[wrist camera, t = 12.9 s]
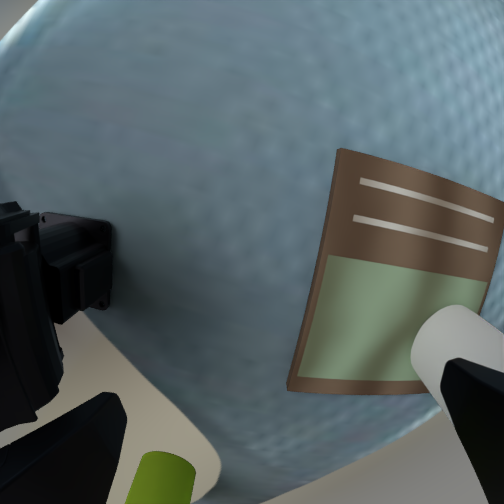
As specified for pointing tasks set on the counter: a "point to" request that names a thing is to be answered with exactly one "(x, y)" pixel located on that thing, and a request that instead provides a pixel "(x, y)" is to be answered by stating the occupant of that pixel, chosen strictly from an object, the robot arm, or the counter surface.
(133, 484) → the soap dispenser
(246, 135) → the counter surface
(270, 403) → the counter surface
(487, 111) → the counter surface
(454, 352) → the can
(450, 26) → the counter surface
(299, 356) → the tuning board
